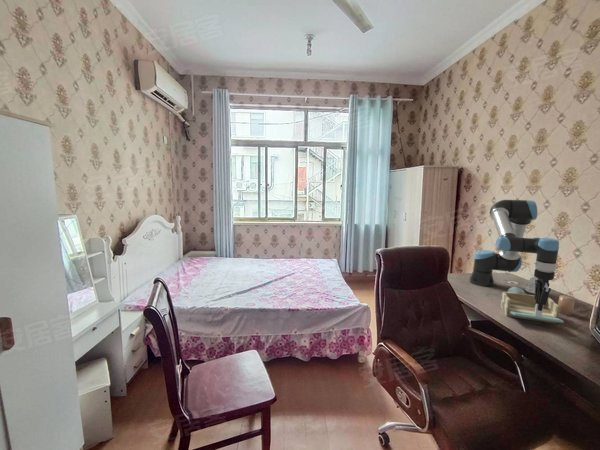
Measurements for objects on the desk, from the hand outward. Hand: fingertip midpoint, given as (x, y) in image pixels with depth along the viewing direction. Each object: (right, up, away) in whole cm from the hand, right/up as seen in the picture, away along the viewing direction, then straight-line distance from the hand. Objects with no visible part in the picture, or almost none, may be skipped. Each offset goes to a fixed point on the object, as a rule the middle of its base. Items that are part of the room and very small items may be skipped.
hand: (538, 315), depth 146 cm
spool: (+12, -1, +32) cm, 34 cm away
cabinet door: (+2, -2, +6) cm, 7 cm away
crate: (+5, -4, +14) cm, 16 cm away
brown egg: (+28, -4, +17) cm, 33 cm away
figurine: (+37, +1, +49) cm, 61 cm away
